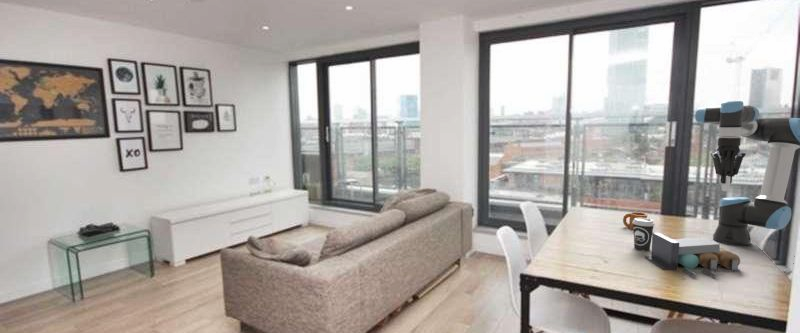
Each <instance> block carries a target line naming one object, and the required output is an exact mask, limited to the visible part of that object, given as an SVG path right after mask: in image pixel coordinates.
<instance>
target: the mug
mask: <svg viewBox="0 0 800 333" xmlns="http://www.w3.org/2000/svg"><path fill="white" fill-rule="evenodd" d="M628 218H629V223H628V222H627V219H628ZM634 218H648V213H645V212H639V211H631V212H629V213H626V214H625V215H624V216H623V218H622V222H623V225H624V226H625V227H626V228H629V229H630V230H633V231H634V229H633V223H632V222H633V220H634Z"/></svg>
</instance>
